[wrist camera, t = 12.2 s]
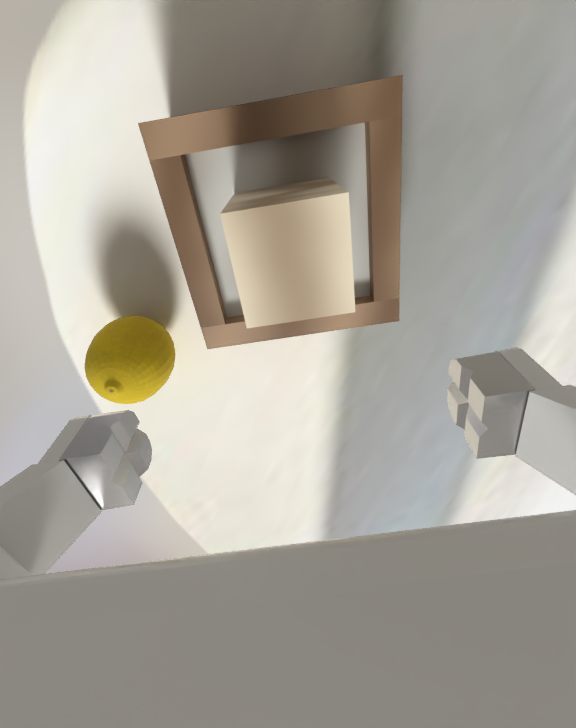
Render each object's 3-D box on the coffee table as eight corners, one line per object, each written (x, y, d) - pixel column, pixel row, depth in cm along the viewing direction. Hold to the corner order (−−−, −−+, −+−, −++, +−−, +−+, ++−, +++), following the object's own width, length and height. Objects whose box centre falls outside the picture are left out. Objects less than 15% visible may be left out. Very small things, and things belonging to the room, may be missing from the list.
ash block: (328, 177, 19) (348, 192, 14) (336, 270, 22) (355, 312, 17) (234, 193, 19) (220, 213, 14) (253, 283, 22) (246, 328, 17)
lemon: (195, 319, 29) (170, 375, 22) (170, 371, 31) (141, 437, 24) (124, 286, 27) (74, 337, 20) (105, 344, 30) (54, 406, 23)
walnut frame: (370, 90, 21) (402, 75, 16) (375, 285, 28) (399, 320, 22) (170, 126, 22) (137, 123, 17) (219, 309, 28) (207, 349, 23)
